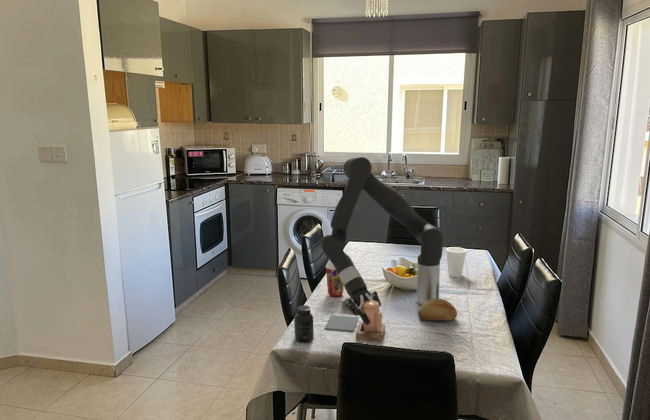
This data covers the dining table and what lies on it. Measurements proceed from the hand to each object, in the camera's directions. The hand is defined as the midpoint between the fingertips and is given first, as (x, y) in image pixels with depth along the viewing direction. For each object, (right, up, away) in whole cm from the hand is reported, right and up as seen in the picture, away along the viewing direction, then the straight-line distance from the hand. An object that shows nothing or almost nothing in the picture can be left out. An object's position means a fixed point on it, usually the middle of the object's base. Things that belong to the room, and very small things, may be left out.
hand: (374, 321), depth 172 cm
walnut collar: (-1, -5, +3) cm, 6 cm away
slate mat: (-11, -4, +12) cm, 17 cm away
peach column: (-1, -5, +3) cm, 6 cm away
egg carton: (-5, -1, +26) cm, 27 cm away
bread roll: (+26, -3, +15) cm, 30 cm away
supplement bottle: (-25, -6, 0) cm, 26 cm away
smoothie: (-13, +2, +40) cm, 42 cm away
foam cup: (+47, +8, +64) cm, 80 cm away
